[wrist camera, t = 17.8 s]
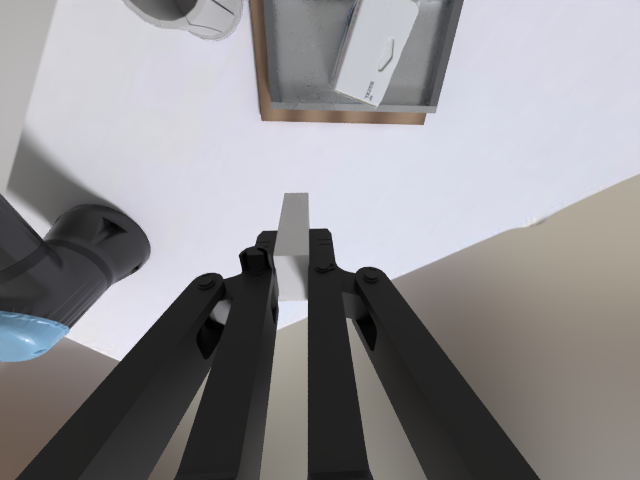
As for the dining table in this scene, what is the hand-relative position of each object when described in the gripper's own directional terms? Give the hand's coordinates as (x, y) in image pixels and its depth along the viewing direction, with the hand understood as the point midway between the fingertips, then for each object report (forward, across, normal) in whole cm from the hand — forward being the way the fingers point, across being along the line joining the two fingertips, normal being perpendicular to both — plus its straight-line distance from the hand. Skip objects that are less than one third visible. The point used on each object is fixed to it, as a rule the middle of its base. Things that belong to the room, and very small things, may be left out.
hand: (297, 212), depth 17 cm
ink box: (+25, +7, +9) cm, 27 cm away
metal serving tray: (+27, +7, +9) cm, 29 cm away
